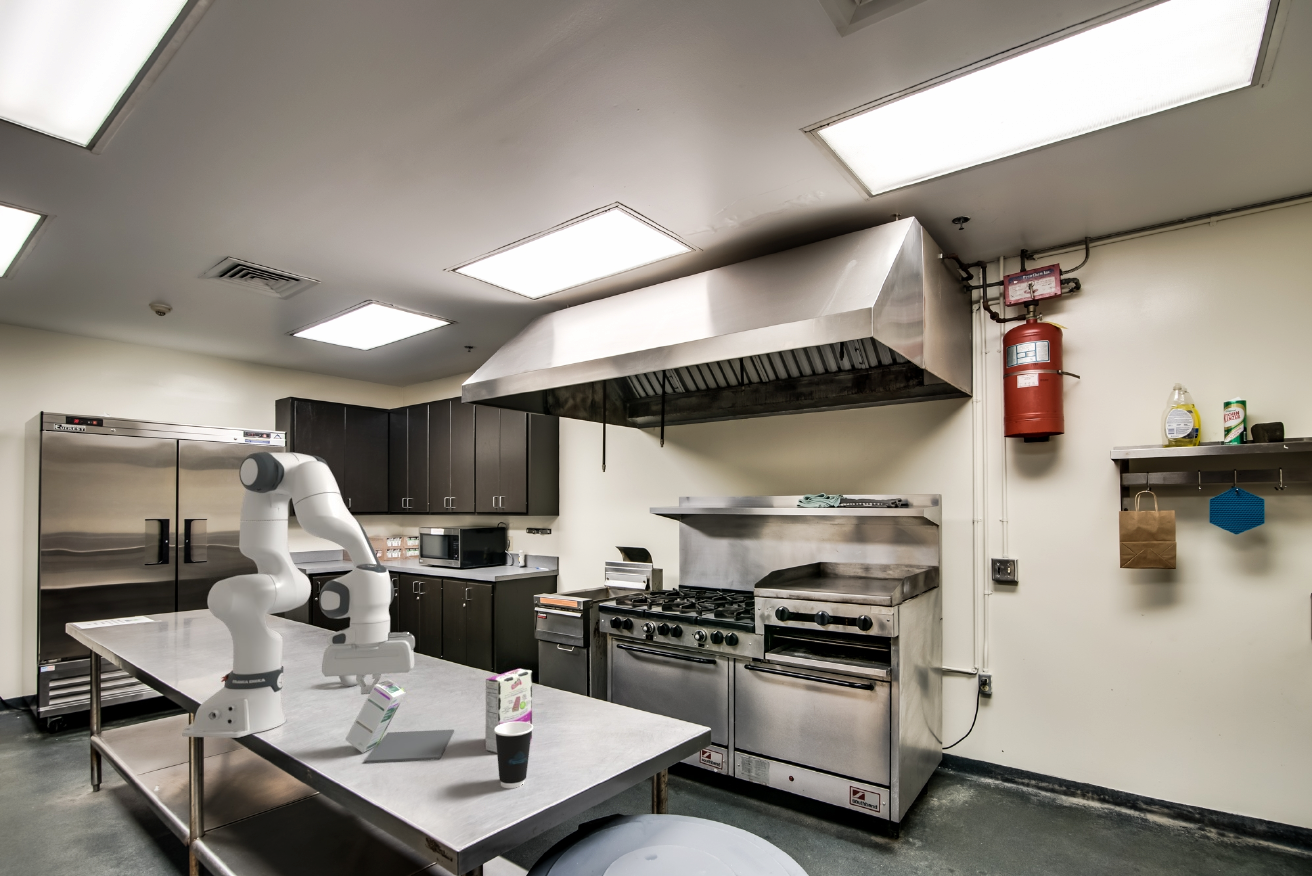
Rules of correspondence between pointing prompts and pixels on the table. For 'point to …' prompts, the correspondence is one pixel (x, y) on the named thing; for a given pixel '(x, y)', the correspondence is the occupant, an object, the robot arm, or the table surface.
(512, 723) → the dixie cup
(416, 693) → the table surface
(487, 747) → the candy bar box
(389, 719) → the syrup box
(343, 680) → the donut
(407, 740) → the mat
